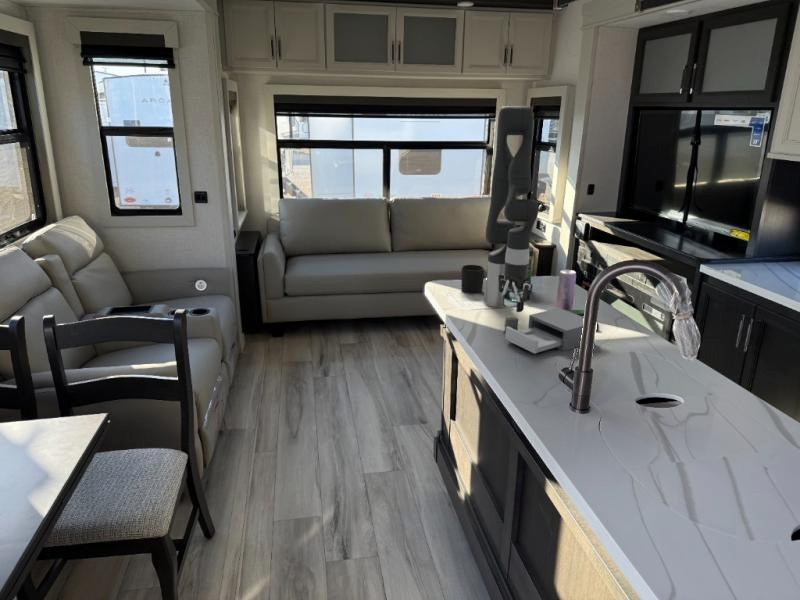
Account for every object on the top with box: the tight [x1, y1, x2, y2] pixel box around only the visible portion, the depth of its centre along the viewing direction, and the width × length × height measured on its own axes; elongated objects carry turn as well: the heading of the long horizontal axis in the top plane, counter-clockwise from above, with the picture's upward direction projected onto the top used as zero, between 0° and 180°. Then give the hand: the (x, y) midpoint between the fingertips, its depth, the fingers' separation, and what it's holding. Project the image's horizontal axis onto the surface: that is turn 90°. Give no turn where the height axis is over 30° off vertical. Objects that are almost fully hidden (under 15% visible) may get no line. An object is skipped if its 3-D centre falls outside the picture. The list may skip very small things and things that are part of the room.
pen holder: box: [460, 264, 485, 295], centre depth 232 cm, size 9×9×10 cm
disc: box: [504, 296, 518, 309], centre depth 187 cm, size 6×6×2 cm
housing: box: [527, 307, 584, 352], centre depth 185 cm, size 16×14×7 cm
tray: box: [504, 327, 563, 354], centre depth 179 cm, size 13×13×4 cm
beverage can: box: [555, 269, 577, 310], centre depth 211 cm, size 6×6×15 cm
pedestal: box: [503, 316, 519, 335], centre depth 190 cm, size 4×4×5 cm
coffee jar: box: [519, 245, 535, 292], centre depth 234 cm, size 10×8×19 cm
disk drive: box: [566, 309, 600, 332], centre depth 200 cm, size 10×3×15 cm
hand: (512, 308), depth 188 cm, fingers closed on disc, 6 cm apart
